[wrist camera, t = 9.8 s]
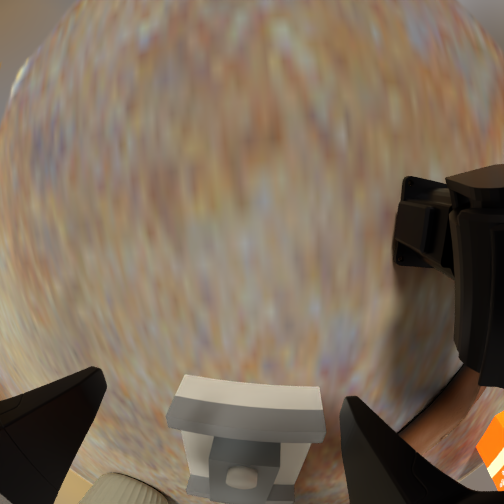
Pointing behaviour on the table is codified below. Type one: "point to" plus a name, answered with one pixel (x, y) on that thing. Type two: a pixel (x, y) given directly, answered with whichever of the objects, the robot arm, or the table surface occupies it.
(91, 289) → the table surface
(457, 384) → the sunglasses case
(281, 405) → the stand
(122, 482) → the canister
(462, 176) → the robot arm
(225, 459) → the grey knobbed block
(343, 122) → the table surface
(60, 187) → the table surface
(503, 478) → the orange juice
